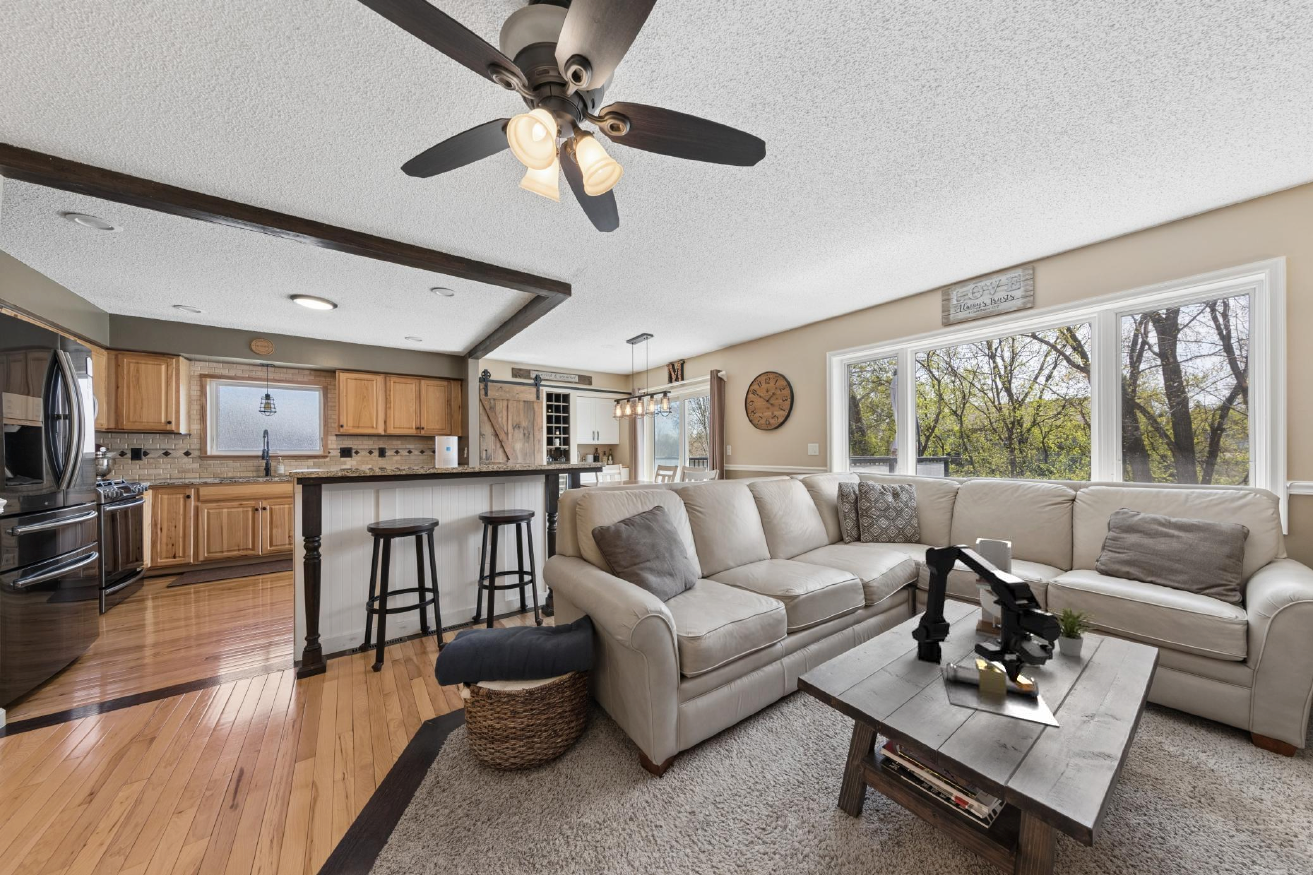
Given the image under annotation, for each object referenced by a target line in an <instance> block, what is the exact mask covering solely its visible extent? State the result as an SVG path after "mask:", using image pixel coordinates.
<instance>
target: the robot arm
mask: <svg viewBox="0 0 1313 875" xmlns="http://www.w3.org/2000/svg"><path fill="white" fill-rule="evenodd" d="M924 556H925V564H926V566H927V569H928V570H929V579H928V589H927V600H926V609H925V612H924V613H923V614H922V615H921V617H920V618H919V621H918V622H919V623H918V626H917V627H916V628H914V629H913V630H912V631H911V636H912V639H913V640H915V641H916V642H917V651H916V655H917V660H918V661H922V662H928V663H932V664H936V665H937V664H938V665H940V664H941V661H942V656H943V655H942V652H943V651H942V646H941V645H940V643H945V641H946V638H947V637H948V636H949V635H951V634H950V626H951V623H950V622H948V621H947V620H946V618H945V615H944V612H945V611H944V610H945V602H946V594H947V593H946V592H947V584H948V583H947V582H948V576H949V574H950V573H951V572H952V570H953V569H955V568H954V567H955V565H956V560H958V561H959V562H961V563H962V564H963V565H965V567H967V568H969V569H970V570H971V571H973V572H974V573H975V574H976V573H977V574H978V575H979V576H980V577H982V578H983V579H984V580H986V581H987V582H988V583H989V585H990V587H991V590H992V591H993V592H994V593H995V594H996V595H997V596H998V597H999V598H998V599H997V600H995V601H993V603H994V604H996V605H999V606H1001V622H1000V625H997V629H998V630H1000V639H998V638H997V639H996V644H998V645H999V646H995V645H994V644H992V643H990V642H977V643H976V644H974V653H975V654H977V655H978V656H980V657H982V658H983V659H984V658H985V659H987V660H989V661H991V662H997V663H1000V664H1001V665H1002V666H1003V667H1004V669H1005V671H1006V673H1007V675H1008V677H1009V679H1010V681H1012V682H1016V681H1017V678H1018V676H1019V675H1021V673H1022V670H1023V669H1024V667H1025V666H1026V664H1029V665H1032V666H1035V665H1040V666H1045V665H1046V663H1047V661H1048V660H1049V661H1050V660H1054V650H1052V647H1051V646H1050V645H1049V644H1041V643H1039V642H1037V641H1032V636H1031V634H1032V635H1035V636H1037V637H1039V638H1042V639H1044V640H1046V641H1049V642H1054V643H1055V642H1056V641H1058V638H1059V636H1060V633H1061V631H1062V630H1061V627H1060V625H1061V624H1060V622H1058V620H1056V619H1055V615H1054V614H1053V613H1050V612H1045V611H1042V609H1043V608H1042V606H1041V604H1040V602H1039V600H1038V599H1037V597H1036V596H1035V594H1034V592H1033V591H1032V589H1031V585H1030V584H1029V583H1028V582H1027V581H1025V580H1024V579H1021V578H1020V577H1018V576H1016V575H1013V574H1012V573H1011V574H1007V573H1004V572H1002V571H1000V570H999V569H998V568H996V567H995V566H993V565H992V564H991V563H989V562H988V561H987V560H985V559H984V558H982V557H981V556H980V555H978V554H977V553H976V551H975V550H973V549H972V548H971V547H970V546H969V545H967V544H954V545H950V546H935V547H934V546H933V547H928V548H927V549H926V550H925V555H924ZM1017 602H1019V603H1017ZM1054 619H1055V620H1054ZM1059 624H1060V625H1059Z"/></svg>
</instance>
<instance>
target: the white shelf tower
mask: <svg viewBox="0 0 1313 875" xmlns="http://www.w3.org/2000/svg"><path fill="white" fill-rule="evenodd" d="M975 553H977V554H978V555H980V556H981V557H982V558H984V559H985V560H987V561H988V562H989V563H991V564H992V565H993V566H995V567H996V568H998V569H999V570H1000V571H1002V572H1004V573H1007V574H1011V575H1012V541H1007V540H999V539H998V540H997V539H989V538H981V537H979V538H977V539H976V541H975ZM975 588H976V589H979V602H980V604H981V619H980V618H978V619H977V623H976V628H975V633H976V635H980V636H986V637H989V638H995V639H997V640H998V639H1000V630H998V629H997V625H1000V622H1001V606H999V605H996V604H994V603H993V601H995V600H997V599H998V598H999V597H998V596H997V595H996V594H995V593H994V592H993V591H992V590H991V587H990V585H989V583H988V582H987V581H986V580H984V579H983V578H982V577H980V576H979V575H978V574H977V573H975Z"/></svg>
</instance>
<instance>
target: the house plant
mask: <svg viewBox="0 0 1313 875" xmlns="http://www.w3.org/2000/svg"><path fill="white" fill-rule="evenodd" d="M1067 607H1068V608H1067ZM1067 607H1066V606H1062V617H1063V618H1062V619H1063V622H1062V620H1061V619H1060V617H1059V616H1058V615H1057V614H1056V613H1055V611H1053V610H1052V609H1050V608H1049V607H1046V606H1045V608H1046V609H1048V610H1049V611H1050V612H1051V614H1053V615H1054V617H1056V618H1057V621H1059V625H1060V627H1061V633H1060V636H1059V638H1058V639H1057V641H1058V648H1059V652H1060V653H1062V654H1064V655H1067V656H1070V657H1075V658H1076V657H1078V658H1079V657H1080V656H1081V654H1082V648H1083V644H1084V639H1085V638H1084V637H1083V636H1082V635H1085V633H1086V631H1088V630H1091V631H1092V632H1093V631H1094V630H1093V627H1087V626H1084V625H1085V624H1087V623H1089V622H1094V620H1092V619H1091V620H1089V619H1088V618H1092V617H1095V615H1090V614H1089V615H1087V616H1084V617H1083V618H1081V617H1082V615H1084V612H1085V609H1084V610H1081V611H1079V612H1078V613H1077V615H1076V614H1075V613H1073V610H1072V608H1071V607H1070V606H1069V605H1067ZM1099 617H1100V618H1101V616H1099ZM1054 620H1056V619H1055V618H1054ZM1083 621H1085V622H1083ZM1081 622H1083V623H1082V624H1081V625H1080V623H1081ZM1079 625H1080V626H1079ZM1077 626H1079V627H1077ZM1083 629H1084V630H1083ZM1094 629H1096V630H1097V629H1098V628H1096V627H1094Z"/></svg>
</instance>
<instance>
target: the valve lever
mask: <svg viewBox="0 0 1313 875" xmlns="http://www.w3.org/2000/svg"><path fill="white" fill-rule="evenodd" d="M983 659H984V660H983V661H984V662H985V663H986V664H989V665H991V666H993V667H994V668H996V669H997V670H999V671H1000V672H1002V673H1003V674H1004V675H1006V676H1007V677H1008V675H1007V673H1006V671H1005V669H1004V667H1003V665H1002V664H1001V663H1000V662H991V661H989V660H987V659H985V658H984V657H983ZM999 663H1000V664H1001V665H1000V664H999ZM1025 678H1026V677H1024V676H1022V675H1021V674H1019V676H1018V678H1017V681H1016V682H1012V681H1011V682H1012V683H1014V684H1015V685H1016V686H1018V687H1019V688H1021V689H1022V690H1032V683H1031V682H1030V681H1028V680H1027V679H1025ZM1009 681H1010V679H1009Z"/></svg>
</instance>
